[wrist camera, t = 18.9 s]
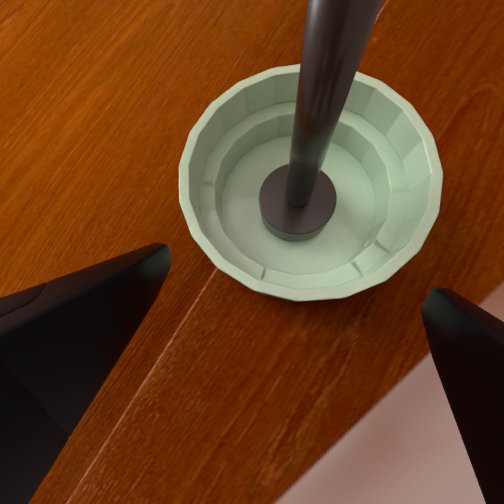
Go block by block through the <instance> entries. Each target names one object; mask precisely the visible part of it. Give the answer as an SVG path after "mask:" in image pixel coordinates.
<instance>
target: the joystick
mask: <svg viewBox="0 0 504 504" xmlns="http://www.w3.org/2000/svg"><path fill="white" fill-rule="evenodd" d="M381 3H382V0H308V4H307V13H306V21H305V30H304V38H303V47H302V55H301V64H300V72H299V81H298V89H297V98H296V106H295V115H294V123H293V132H292V140H291V149H290V157H289V164H286V165H283V166H281V167H279V168H277V169H275V170H274V171H272V172H271V173H270V174H269V175H268V176H267V178H266V179H265V180H264V182H263V184H262V186H261V189H260V192H259V206H260V213H261V218H262V221H263V223H264V225H265V227H266V228H267V229H268V230H269V231H270V232H271V233H272V234H273V235H274V236H276V237H278V238H280V239H282V240H285V241H290V242H300V241H305V240H308V239H311V238H313V237H314V236H316V235H317V234H319V233H320V232H321V231H322V230H323V228H324V227H325V226H326V224H327V223H328V221H329V220H330V218H331V217H332V215H333V213H334V211H335V208H336V203H337V194H336V190H335V187H334V184H333V182H332V181H331V179H330V178H329V177H328V175H327V174H326V173H324V172H323V171H322V170H321V168H322V165H323V162H324V159H325V157H326V154H327V151H328V148H329V146H330V143H331V140H332V137H333V135H334V132H335V129H336V126H337V124H338V121H339V118H340V115H341V113H342V110H343V107H344V104H345V102H346V99H347V96H348V93H349V91H350V88H351V85H352V82H353V80H354V77H355V74H356V72H357V69H358V66H359V63H360V61H361V58H362V55H363V52H364V50H365V47H366V44H367V41H368V39H369V36H370V33H371V30H372V28H373V25H374V22H375V19H376V17H377V14H378V11H379V8H380V6H381Z"/></svg>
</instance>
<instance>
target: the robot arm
mask: <svg viewBox="0 0 504 504" xmlns="http://www.w3.org/2000/svg"><path fill="white" fill-rule="evenodd" d="M170 268H171V259H170V252H169V247H168V245H167V244H162V243H154V244H151V245H148V246H145V247H142V248H140V249H137V250H134V251H131V252H129V253H126V254H123V255H120V256H117V257H115V258H112V259H109V260H106V261H104V262H101V263H98V264H95V265H92V266H90V267H87V268H84V269H81V270H79V271H76V272H73V273H70V274H67V275H65V276H62V277H59V278H56V279H54V280H51V281H48V283H42V284H40V285H37V286H34V287H31V288H28V289H25V290H23V291H20V292H17V293H14V294H11V295H8V296H5V297H2V298H0V504H28V503H29V501H30V500H31V498H32V497H33V495H34V493H35V492H36V490H37V489H38V487H39V485H40V484H41V482H42V481H43V479H44V478H45V476H46V474H47V473H48V471H49V470H50V468H51V466H52V465H53V463H54V462H55V460H56V458H57V457H58V455H59V454H60V452H61V450H62V449H63V447H64V446H65V444H66V442H67V441H68V439H69V438H68V437H70V436H71V434H72V433H73V431H74V429H75V428H76V426H77V425H78V423H79V421H80V420H81V418H82V417H83V415H84V413H85V412H86V410H87V409H88V407H89V405H90V404H91V402H92V401H93V399H94V397H95V396H96V394H97V393H98V391H99V390H100V388H101V386H102V385H103V383H104V382H105V380H106V378H107V377H108V375H109V374H110V372H111V370H112V369H113V367H114V366H115V364H116V362H117V361H118V359H119V358H120V356H121V354H122V353H123V351H124V350H125V348H126V346H127V345H128V343H129V342H130V340H131V339H132V337H133V335H134V334H135V332H136V331H137V329H138V327H139V326H140V324H141V323H142V321H143V319H144V318H145V316H146V315H147V313H148V311H149V310H150V308H151V307H152V305H153V303H154V301H155V299H156V297H157V295H158V293H159V291H160V289H161V287H162V285H163V283H164V281H165V279H166V277H167V275H168V272H169V270H170ZM421 314H422V318H423V322H424V326H425V330H426V335H427V339H428V343H429V347H430V351H431V354H432V357H433V360H434V363H435V366H436V369H437V372H438V374H439V377H440V380H441V382H442V385H443V388H444V391H445V393H446V396H447V399H448V402H449V404H450V407H451V410H452V412H453V415H454V418H455V421H456V423H457V426H458V429H459V431H460V434H461V437H462V440H463V442H464V445H465V448H466V450H467V453H468V456H469V459H470V461H471V464H472V467H473V469H474V472H475V475H476V478H477V480H478V483H479V486H480V488H481V491H482V494H483V497H484V499H485V502H486V504H504V322H502V321H501V320H499V319H498V318H496V317H495V316H493V315H491V314H490V313H488V312H487V311H485V310H483V309H482V308H480V307H478V306H477V305H475V304H474V303H472V302H470V301H469V300H467V299H466V298H464V297H462V296H461V295H459V294H457V293H456V292H454V291H453V290H451V289H446V288H440V287H436V288H433V289H432V290H431V292H430V293H429V295H428V296H427V298H426V300H425V301H424V303H423V304H422V307H421Z"/></svg>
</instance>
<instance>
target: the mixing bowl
mask: <svg viewBox="0 0 504 504" xmlns="http://www.w3.org/2000/svg"><path fill="white" fill-rule="evenodd" d="M299 72H300V64H297V65H290V66H283V67H275V68H273V69H272V68H271V69H269V70H266V71H264V72H261V73H259V74H257V75H254V76H252V77H249V78H247V79H245V80H242V81H240V82H238V83H236V84H235V85H234V86H233V87H231V88H230V89H229V90H227V91H226V92H225V93H224V94H222V95H221V96H220V97H218V98H217V99H216V100H214V101H213V102H212V103H211V104H210V105H209V107H208V108H207V109H206V111H205V112H204V113H203V115H202V116H201V118H200V119H199V120H198V122H197V123H196V124H195V126H194V127H193V129H192V130H191V132H190V134H189V137H188V140H187V143H186V146H185V149H184V152H183V155H182V158H181V161H180V164H179V201H180V205H181V208H182V210H183V213H184V216H185V219H186V222H187V224H188V227H189V230H190V233H191V235H192V237H193V239H194V240H195V241H196V242H197V244H198V245H199V246H200V247H201V249H202V250H203V251H204V252H205V253H206V255H207V256H208V257H209V258H210V260H211V261H212V262H213V263H214V265H215V266H216V267H217V268H218V269H220V270H221V271H223V272H225V273H226V274H228V275H229V276H231V277H233V278H234V279H236V280H237V281H239V282H240V283H242V284H244V285H245V286H247V287H248V288H250V289H252V290H253V291H255V292H257V293H259V294H262V295H266V296H270V297H274V298H278V299H282V300H286V301H292V302H299V301H313V300H327V299H342V298H346V297H348V296H351V295H353V294H356V293H358V292H360V291H363V290H365V289H368V288H370V287H372V286H375V285H377V284H380V283H382V282H385V281H386V280H388V279H389V278H390V277H391V276H392V275H393V274H394V273H396V272H397V271H398V270H399V269H400V268H401V267H402V266H403V265H404V264H406V263H407V262H408V261H409V260H410V259H411V258H412V257H413V256H414V255H416V254H417V253H418V252H419V250H420V249H421V247H422V245H423V243H424V241H425V239H426V237H427V235H428V234H429V232H430V230H431V228H432V226H433V224H434V222H435V220H436V218H437V216H438V213H439V209H440V199H441V190H442V181H443V171H442V167H441V163H440V160H439V156H438V152H437V148H436V144H435V141H434V137H433V135H432V134H431V132H430V131H429V129H428V128H427V126H426V125H425V123H424V122H423V120H422V119H421V117H420V116H419V115H418V113H417V112H416V110H415V109H414V107H413V106H412V105H411V104H410V103H409V102H408V101H407V100H405V99H404V98H403V97H401V96H400V95H399V94H398V93H396V92H395V91H394V90H392V89H391V88H390V87H388V86H387V85H386V84H385V83H383V82H381V81H380V80H377V79H375V78H372V77H370V76H367V75H365V74H362V73H360V72H356V74H355V77H354V80H353V82H352V85H351V88H350V91H349V93H348V96H347V99H346V102H345V104H344V107H343V110H342V113H341V115H340V118H339V121H338V124H337V126H336V129H335V132H334V135H333V137H332V140H331V143H330V146H329V148H328V151H327V154H326V157H325V159H324V162H323V165H322V168H321V170H322V171H323V172H324V173H326V174H327V175H328V177H329V178H330V179H331V181H332V182H333V184H334V187H335V190H336V194H337V203H336V208H335V211H334V213H333V215H332V217H331V218H330V220H329V221H328V223H327V224H326V226H325V227H324V228H323V230H322V231H321V232H320V233H319V234H317V235H316V236H314V237H313V238H311V239H308V240H305V241H300V242H290V241H285V240H282V239H280V238H278V237H276V236H274V235H273V234H272V233H271V232H270V231H269V230H268V229H267V228H266V227H265V225H264V223H263V221H262V218H261V213H260V206H259V192H260V189H261V186H262V184H263V182H264V180H265V179H266V178H267V176H268V175H269V174H270V173H271V172H272V171H274V170H275V169H277V168H279V167H281V166H283V165H286V164H289V157H290V149H291V140H292V132H293V123H294V115H295V106H296V98H297V89H298V81H299Z"/></svg>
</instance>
